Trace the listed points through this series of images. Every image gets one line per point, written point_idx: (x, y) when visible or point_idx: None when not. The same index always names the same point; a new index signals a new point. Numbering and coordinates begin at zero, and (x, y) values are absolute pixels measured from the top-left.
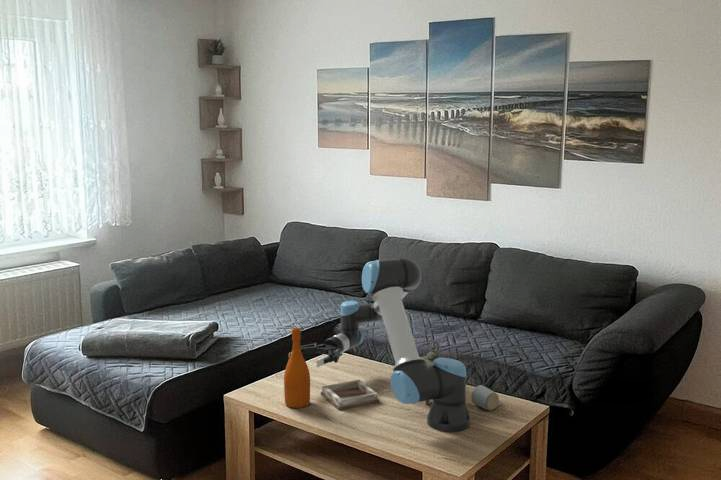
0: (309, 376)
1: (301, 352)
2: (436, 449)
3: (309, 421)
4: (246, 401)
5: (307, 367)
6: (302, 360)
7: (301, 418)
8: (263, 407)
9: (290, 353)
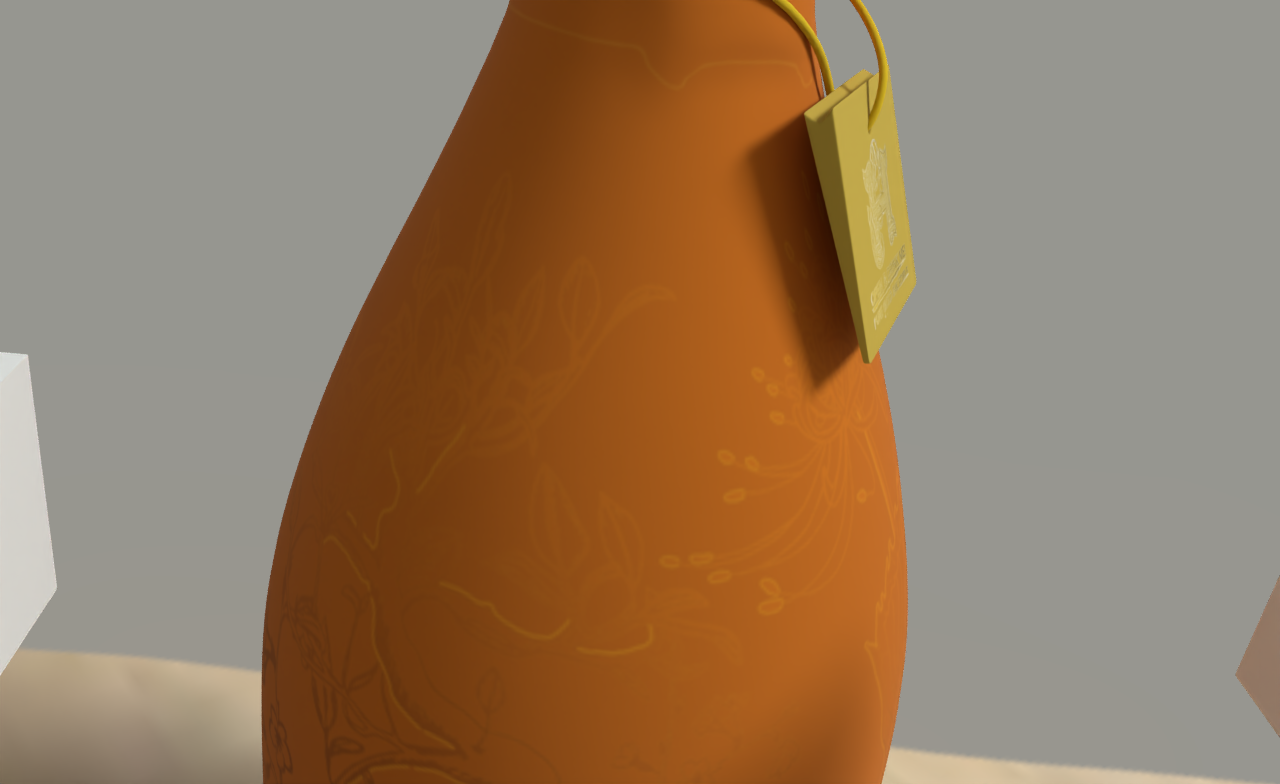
0: (271, 673)
1: (548, 5)
2: None
3: (34, 678)
4: (1183, 778)
5: (336, 465)
6: (429, 181)
7: (185, 700)
8: None
9: (863, 80)
